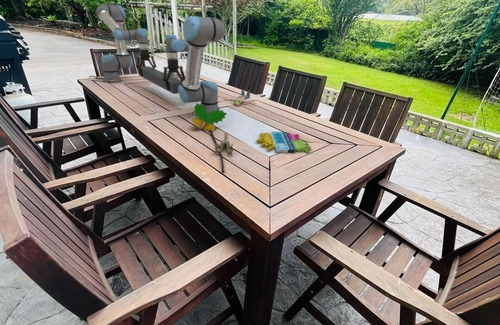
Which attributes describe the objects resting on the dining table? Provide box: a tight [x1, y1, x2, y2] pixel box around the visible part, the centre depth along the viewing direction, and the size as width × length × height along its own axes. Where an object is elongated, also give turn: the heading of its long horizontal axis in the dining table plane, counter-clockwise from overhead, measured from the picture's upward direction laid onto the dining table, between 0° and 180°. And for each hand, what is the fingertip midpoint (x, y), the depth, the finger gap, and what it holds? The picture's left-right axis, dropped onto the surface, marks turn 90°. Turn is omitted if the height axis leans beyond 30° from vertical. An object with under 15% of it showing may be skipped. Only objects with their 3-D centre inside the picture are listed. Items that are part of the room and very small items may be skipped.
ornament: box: [191, 102, 228, 132], centre depth 162 cm, size 21×8×15 cm, turn 105°
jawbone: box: [214, 131, 234, 156], centre depth 136 cm, size 9×15×10 cm
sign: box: [256, 131, 312, 154], centre depth 152 cm, size 26×2×30 cm
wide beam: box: [137, 65, 182, 95], centre depth 213 cm, size 70×10×7 cm, turn 39°
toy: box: [223, 89, 257, 106], centre depth 219 cm, size 28×7×30 cm
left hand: (147, 75), depth 233 cm, fingers closed on wide beam, 10 cm apart
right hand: (175, 90), depth 197 cm, fingers closed on wide beam, 10 cm apart
